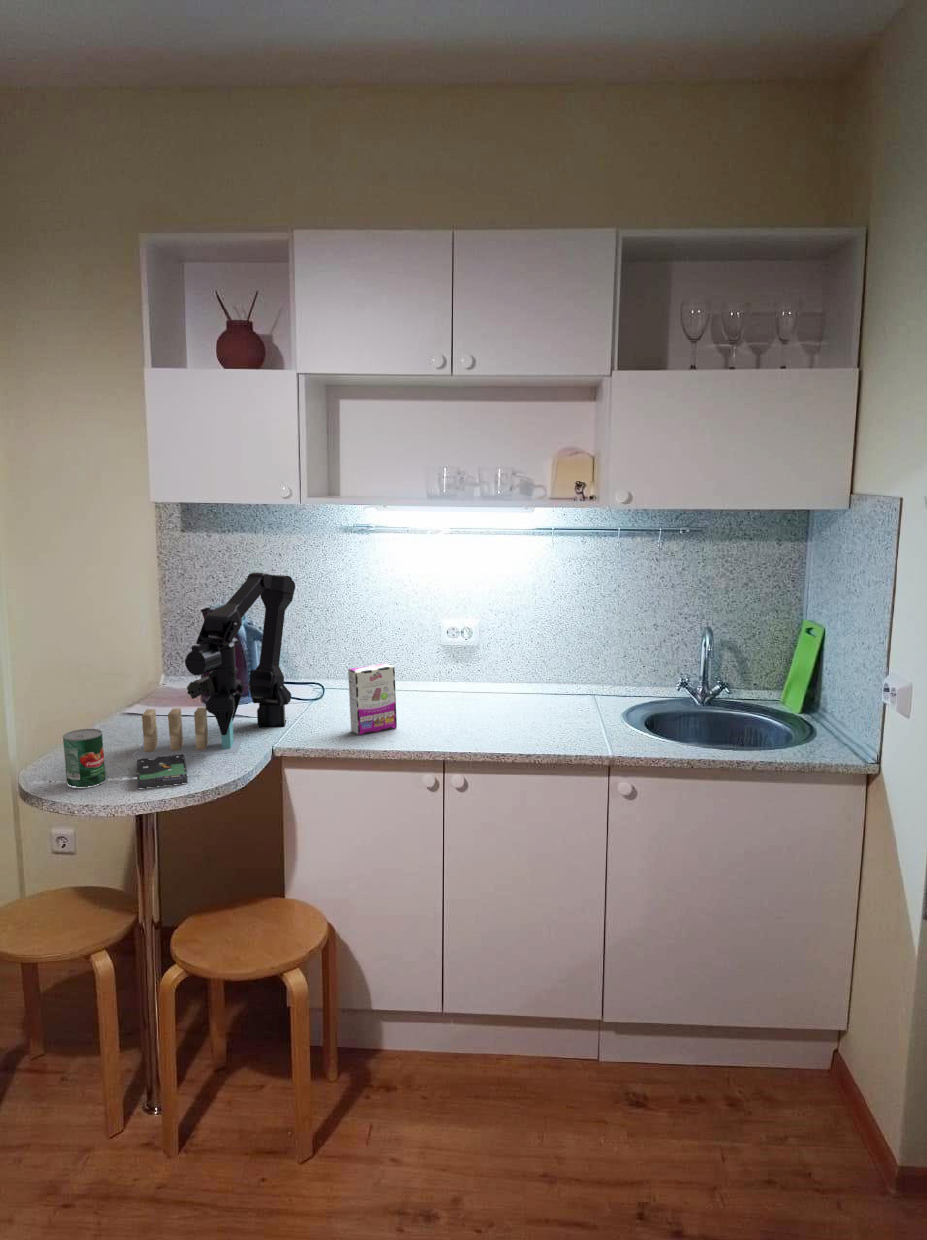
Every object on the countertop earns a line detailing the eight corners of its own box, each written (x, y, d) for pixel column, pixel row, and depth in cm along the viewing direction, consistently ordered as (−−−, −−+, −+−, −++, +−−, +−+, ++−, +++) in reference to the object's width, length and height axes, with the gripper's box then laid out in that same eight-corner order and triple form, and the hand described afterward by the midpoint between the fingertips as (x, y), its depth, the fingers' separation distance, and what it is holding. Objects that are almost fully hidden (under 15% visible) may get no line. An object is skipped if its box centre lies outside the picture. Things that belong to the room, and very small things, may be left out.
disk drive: (136, 771, 211) (138, 792, 197) (135, 759, 211) (137, 779, 197) (184, 765, 215) (189, 785, 201) (183, 753, 214) (188, 773, 200)
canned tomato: (74, 776, 206) (70, 728, 204) (111, 775, 206) (107, 727, 204) (61, 789, 198) (56, 739, 196) (99, 788, 198) (95, 738, 196)
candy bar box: (388, 723, 244) (386, 662, 241) (397, 728, 239) (395, 666, 236) (349, 731, 237) (347, 668, 235) (358, 736, 233) (356, 672, 230)
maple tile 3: (183, 744, 227) (180, 708, 225) (179, 750, 222) (176, 713, 220) (174, 744, 226) (172, 708, 225) (170, 750, 221) (168, 714, 220)
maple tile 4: (157, 745, 226) (155, 709, 224) (153, 751, 221) (150, 714, 219) (149, 745, 226) (146, 709, 224) (144, 751, 221) (141, 715, 219)
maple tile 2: (208, 743, 227) (206, 707, 226) (205, 749, 222) (202, 712, 221) (200, 743, 227) (197, 707, 225) (196, 749, 222) (194, 713, 220)
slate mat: (243, 739, 231) (243, 737, 231) (237, 754, 220) (237, 752, 220) (144, 743, 229) (144, 741, 229) (132, 759, 217) (132, 757, 217)
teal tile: (222, 748, 223) (220, 712, 221) (225, 742, 228) (223, 706, 226) (230, 748, 223) (228, 711, 221) (233, 742, 228) (231, 706, 226)
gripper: (195, 658, 230) (199, 719, 233) (180, 676, 212) (185, 742, 215) (241, 657, 231) (245, 718, 234) (230, 674, 213) (234, 740, 216)
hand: (227, 729), depth 224 cm, fingers open, 9 cm apart
